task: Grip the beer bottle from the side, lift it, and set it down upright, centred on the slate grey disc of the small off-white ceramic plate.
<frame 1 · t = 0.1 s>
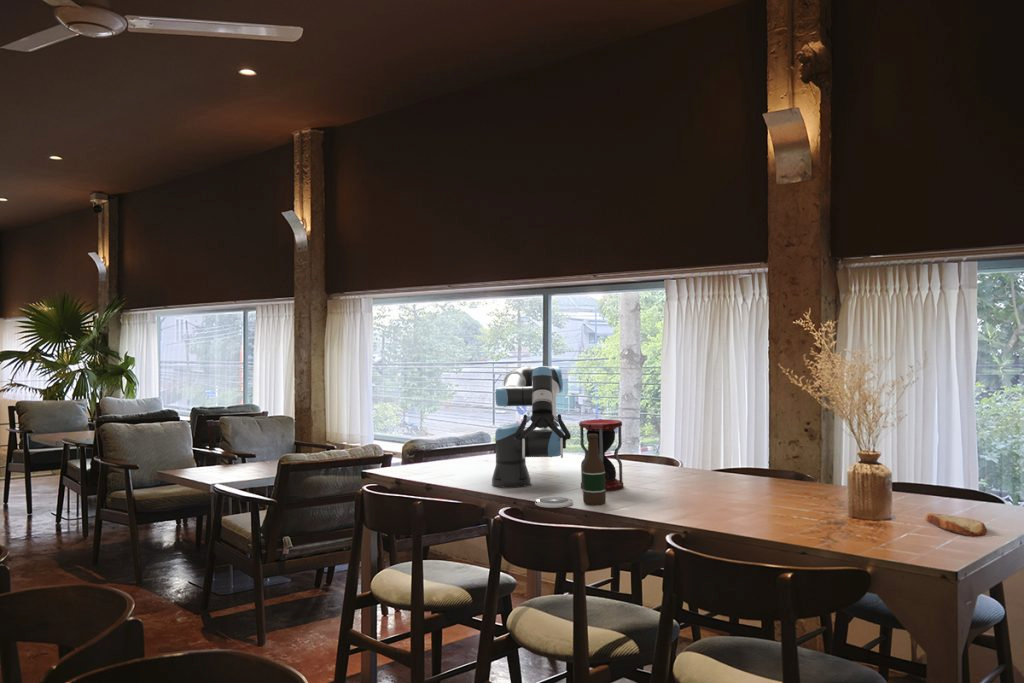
hand: (542, 456, 292), 15 cm above the table, tool tilted 35°, fingers open, 13 cm apart
plate: (553, 503, 285), on the table
bread slice: (953, 529, 240), on the table
hourglass: (602, 487, 312), on the table
beer bottle: (594, 503, 284), on the table
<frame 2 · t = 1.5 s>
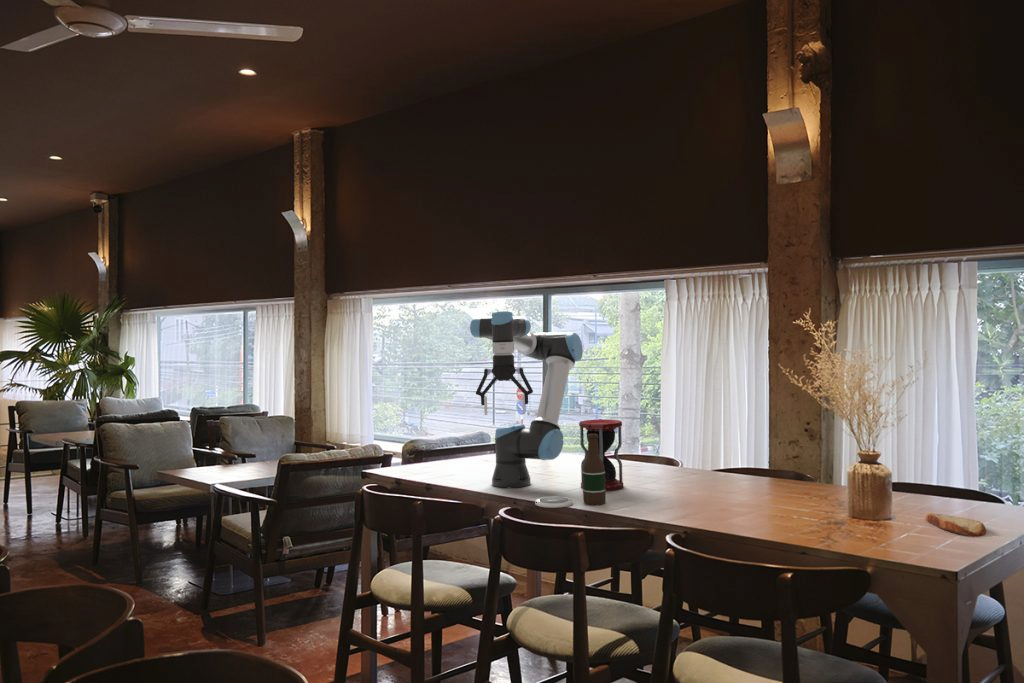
hand: (505, 414, 292), 31 cm above the table, tool pointing down, fingers open, 13 cm apart
nothing on the table moved.
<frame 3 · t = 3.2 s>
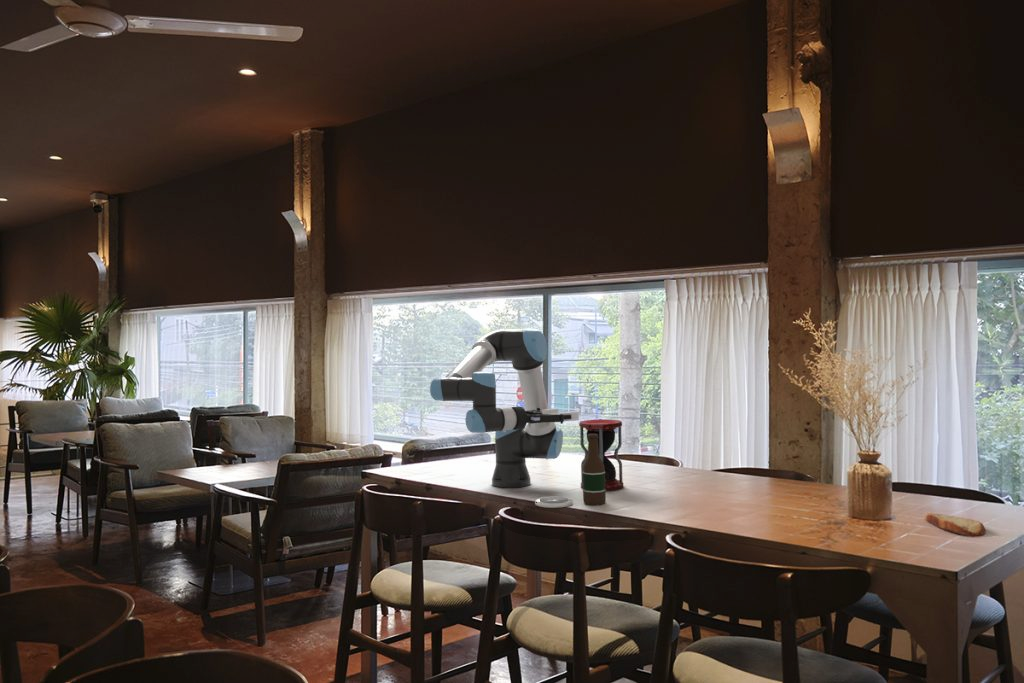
hand: (567, 414, 279), 32 cm above the table, tool horizontal, fingers open, 13 cm apart
nothing on the table moved.
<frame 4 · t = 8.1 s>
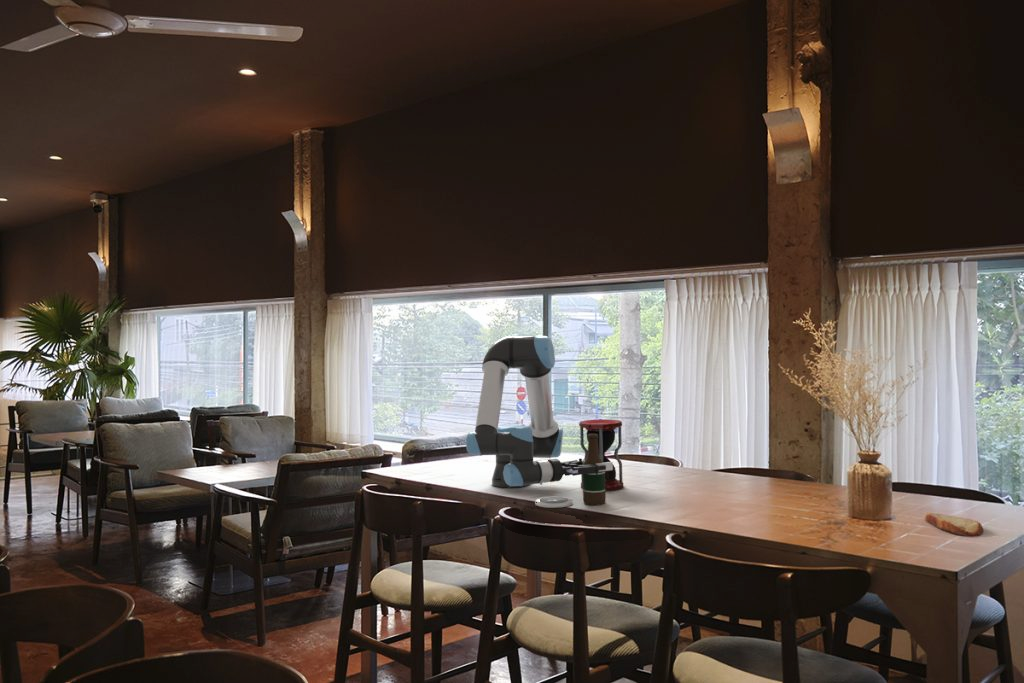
hand: (605, 464, 286), 13 cm above the table, tool horizontal, fingers closed on beer bottle, 7 cm apart
beer bottle: (594, 503, 284), on the table, touching gripper
everything else where it was.
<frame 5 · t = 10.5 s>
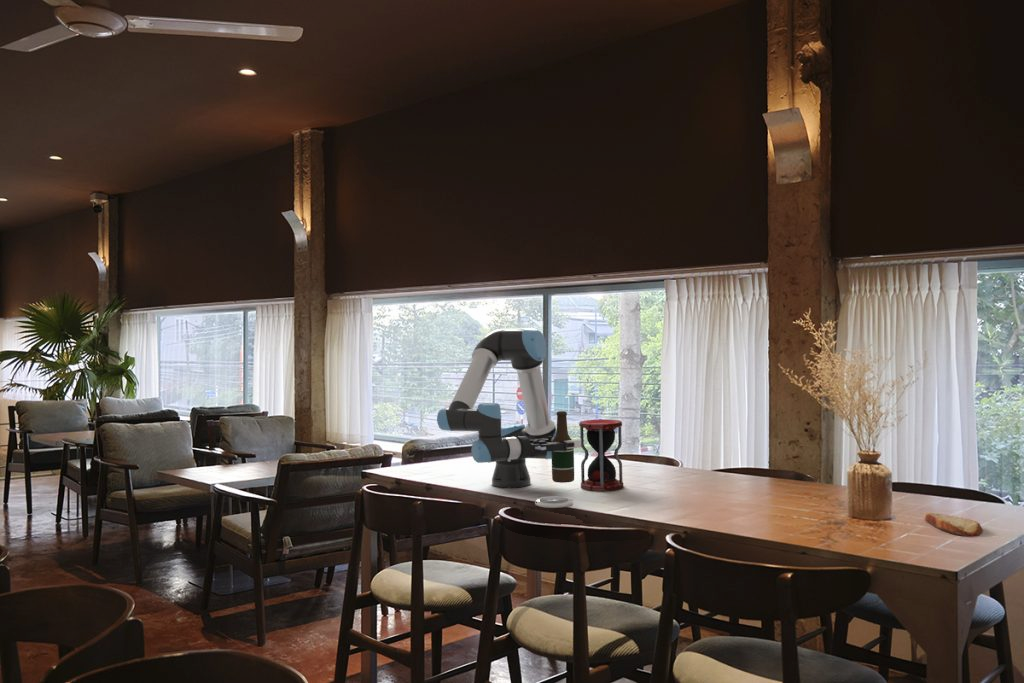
hand: (574, 442, 287), 21 cm above the table, tool horizontal, fingers closed on beer bottle, 7 cm apart
beer bottle: (563, 481, 285), point 8 cm above the table, touching gripper
everything else where it was.
when the fingers open (16 cm above the table, at t = 12.8 s): beer bottle drops 1 cm, resting on plate.
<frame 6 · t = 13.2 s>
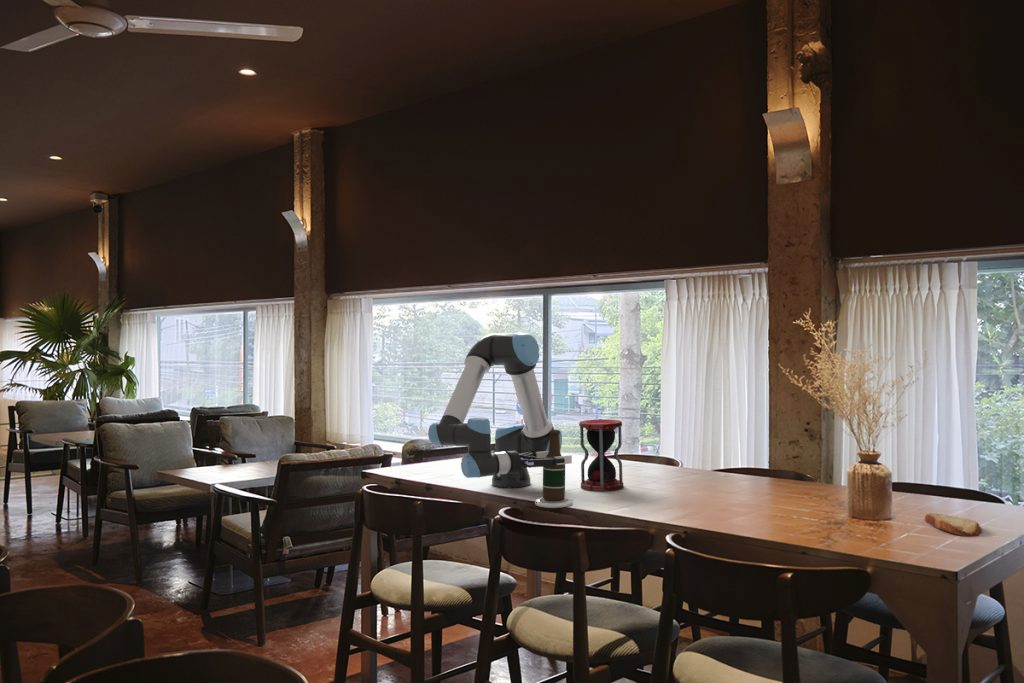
hand: (561, 456, 287), 16 cm above the table, tool horizontal, fingers open, 12 cm apart
beer bottle: (553, 499, 285), point 1 cm above the table, touching plate
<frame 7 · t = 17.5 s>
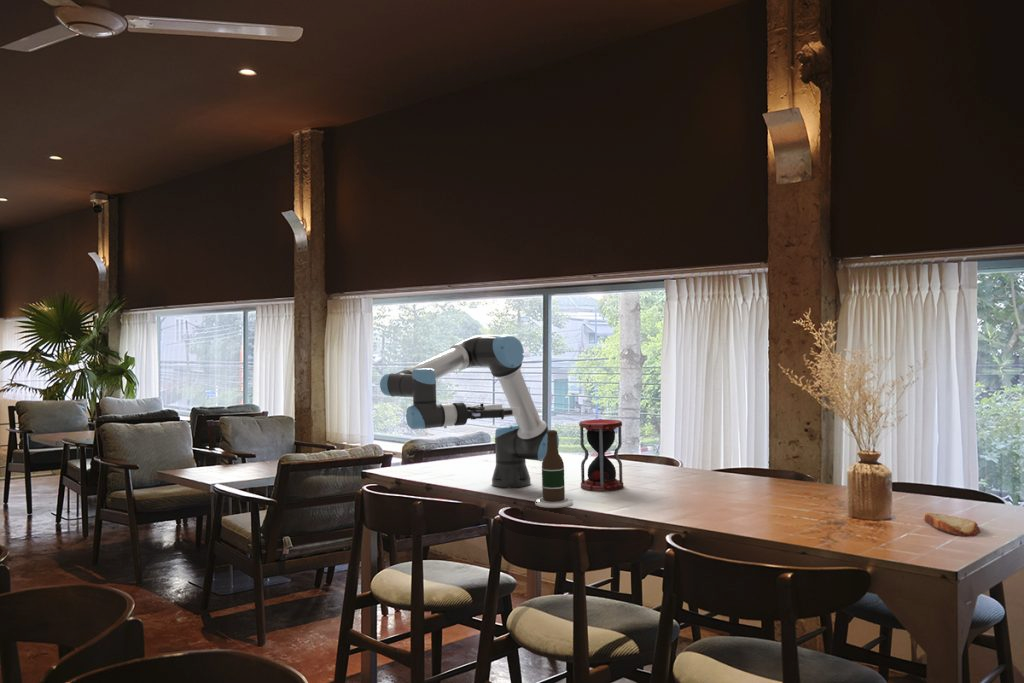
hand: (510, 409, 281), 33 cm above the table, tool horizontal, fingers open, 13 cm apart
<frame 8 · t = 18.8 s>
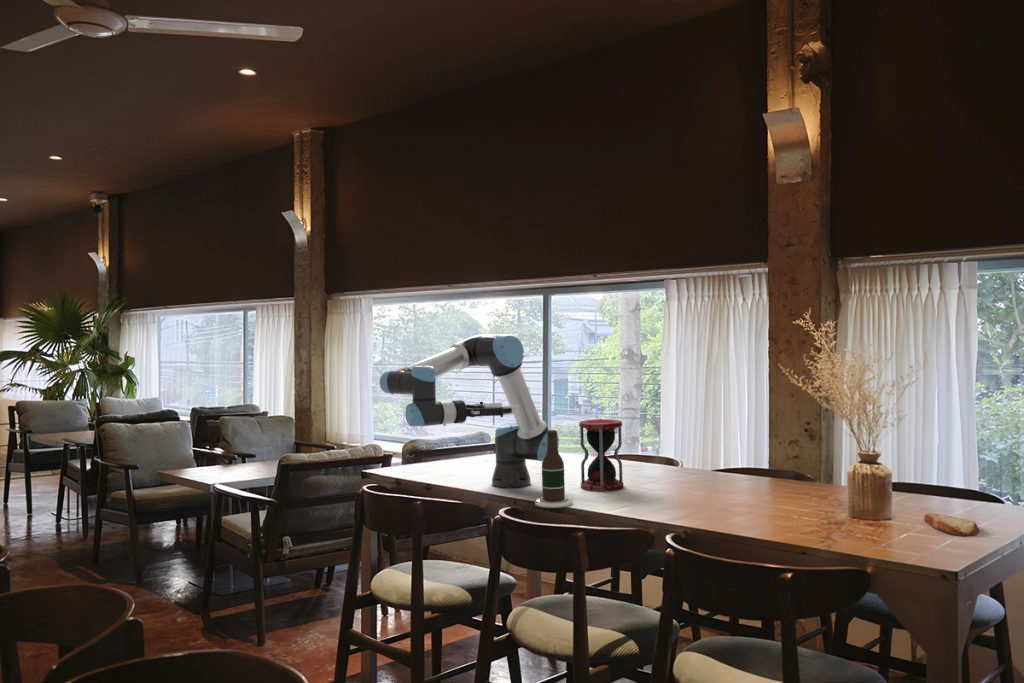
hand: (510, 407, 281), 34 cm above the table, tool horizontal, fingers open, 13 cm apart
at the end: beer bottle 0.1 cm from the plate (horizontally); beer bottle tilted 0°; beer bottle touching plate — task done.
